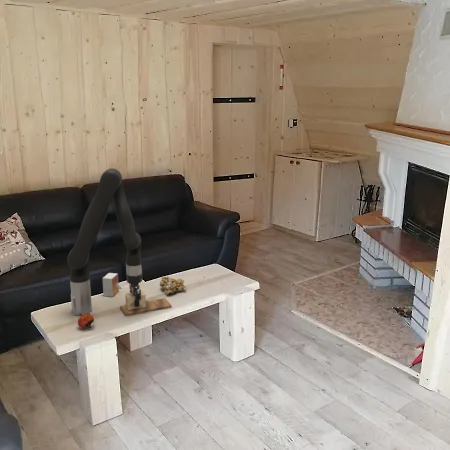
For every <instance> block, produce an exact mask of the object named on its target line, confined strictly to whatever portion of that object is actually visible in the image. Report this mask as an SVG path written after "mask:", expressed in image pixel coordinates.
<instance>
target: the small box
mask: <svg viewBox="0 0 450 450" xmlns="http://www.w3.org/2000/svg"><path fill="white" fill-rule="evenodd" d="M102 290H103V291H102V292H103V296H104V297H112V298H113V297H114V296H115V295H117V293H119V291H120V289H119V274H118V273H113V272H108V273H107V274H106V275H105V276H103V277H102Z"/></svg>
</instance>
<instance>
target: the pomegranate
mask: <svg viewBox="0 0 450 450" xmlns="http://www.w3.org/2000/svg"><path fill="white" fill-rule="evenodd" d="M94 317H95V316H94V315H93V314H91V313H89V314H88V313H85V314H83V315H82V314H81V313H80V315H79V318H78V319H77V325H78V328H80V329H82V330H83V329H86V328H87V327H89V328H90V330H93V329H92V327H91V325H92V324H93V323H94V322H95V318H94Z"/></svg>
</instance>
